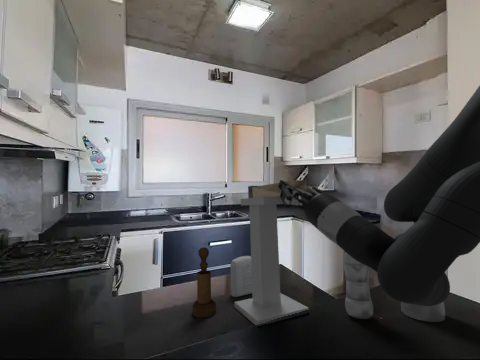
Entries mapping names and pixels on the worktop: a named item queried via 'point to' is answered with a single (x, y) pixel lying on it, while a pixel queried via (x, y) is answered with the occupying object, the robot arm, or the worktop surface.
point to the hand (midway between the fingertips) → (287, 183)
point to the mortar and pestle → (204, 289)
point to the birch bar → (274, 189)
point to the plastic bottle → (357, 288)
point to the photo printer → (241, 276)
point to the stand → (265, 265)
